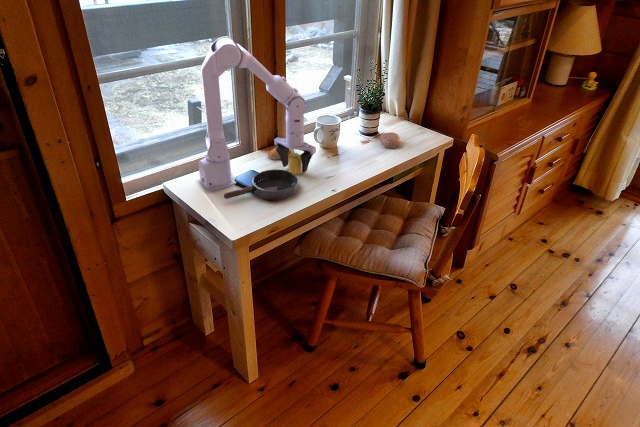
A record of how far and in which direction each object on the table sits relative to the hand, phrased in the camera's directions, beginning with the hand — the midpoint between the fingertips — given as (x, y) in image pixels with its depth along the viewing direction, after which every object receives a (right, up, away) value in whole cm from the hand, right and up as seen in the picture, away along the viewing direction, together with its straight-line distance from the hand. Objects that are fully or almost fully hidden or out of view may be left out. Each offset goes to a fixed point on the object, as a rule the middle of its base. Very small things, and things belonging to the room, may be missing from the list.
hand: (295, 168), depth 157 cm
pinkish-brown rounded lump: (+35, +11, +21) cm, 42 cm away
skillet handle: (-15, -9, -15) cm, 24 cm away
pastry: (-5, +5, +11) cm, 13 cm away
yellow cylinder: (0, -1, +1) cm, 2 cm away
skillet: (-6, -8, -9) cm, 13 cm away
